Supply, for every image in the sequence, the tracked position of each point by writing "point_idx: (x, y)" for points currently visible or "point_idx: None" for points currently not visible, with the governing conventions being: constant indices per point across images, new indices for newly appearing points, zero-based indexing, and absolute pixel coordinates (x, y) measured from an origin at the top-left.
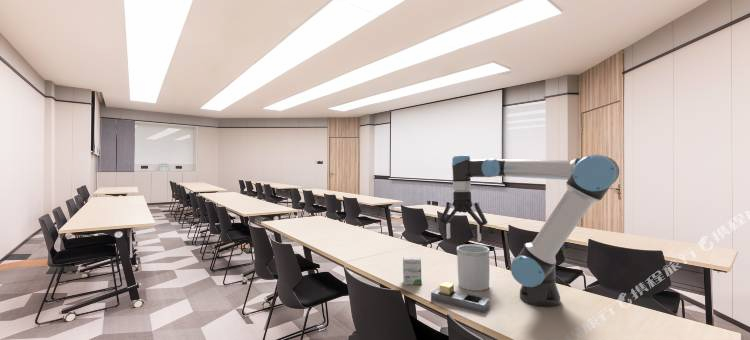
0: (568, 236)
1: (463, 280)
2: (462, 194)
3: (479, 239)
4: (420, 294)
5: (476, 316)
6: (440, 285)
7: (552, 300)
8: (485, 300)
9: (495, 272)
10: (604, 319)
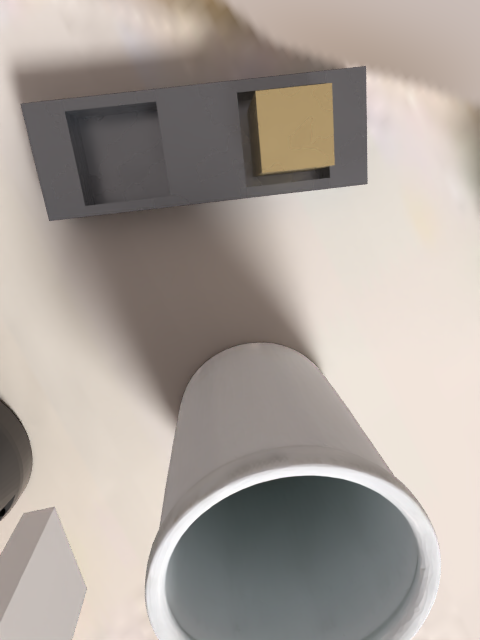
0: None
1: (284, 357)
2: None
3: (8, 544)
4: (435, 108)
5: (46, 42)
6: (323, 84)
7: None
8: (52, 181)
9: None
10: None
